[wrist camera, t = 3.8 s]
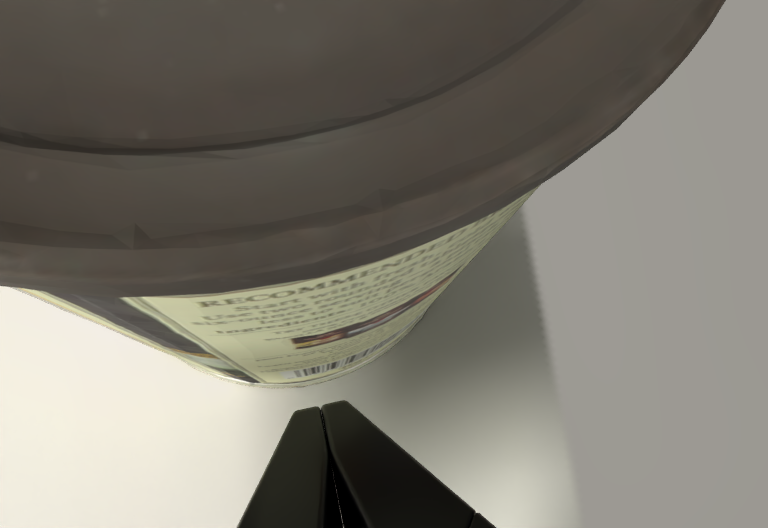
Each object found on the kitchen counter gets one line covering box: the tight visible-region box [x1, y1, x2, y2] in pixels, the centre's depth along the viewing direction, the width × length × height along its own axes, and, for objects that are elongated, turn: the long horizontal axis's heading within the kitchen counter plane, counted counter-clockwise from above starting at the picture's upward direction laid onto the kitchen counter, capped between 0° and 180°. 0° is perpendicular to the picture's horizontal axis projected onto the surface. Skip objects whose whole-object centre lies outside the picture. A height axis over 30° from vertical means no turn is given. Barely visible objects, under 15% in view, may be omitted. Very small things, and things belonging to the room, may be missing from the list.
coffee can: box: [0, 0, 726, 388], centre depth 12 cm, size 10×10×14 cm
